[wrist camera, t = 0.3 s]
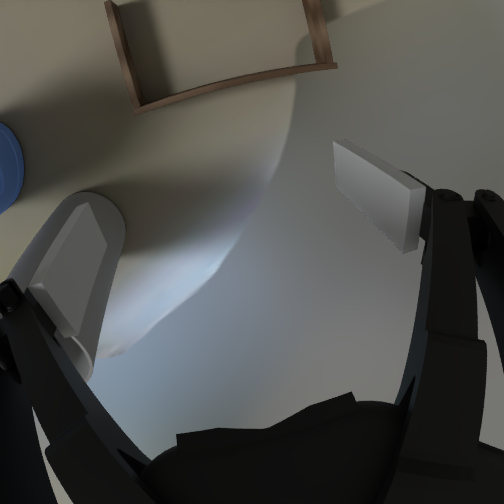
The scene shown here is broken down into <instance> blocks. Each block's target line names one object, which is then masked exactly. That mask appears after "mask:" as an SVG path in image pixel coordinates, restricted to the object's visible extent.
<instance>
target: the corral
mask: <svg viewBox="0 0 504 504" xmlns="http://www.w3.org/2000/svg"><path fill="white" fill-rule="evenodd" d="M302 2H303V6H304V10H305V14H306V18H307V23H308V27H309V31H310V36H311V40H312V45H313V50H314V55H315V59H316V64H308V65H300V66H293V67H286V68H280V69H274V70H269V71H263V72H258V73H253V74H248V75H244V76H239V77H235V78H230V79H226V80H222V81H218V82H214V83H210V84H207V85H203V86H199V87H196V88H193V89H189V90H186V91H182V92H179V93H176V94H173V95H170V96H167V97H164V98H161V99H158V100H155V101H152V102H149V103H147V104H145V102H144V99H143V95H142V92H141V89H140V86H139V82H138V79H137V76H136V72H135V69H134V65H133V62H132V58H131V55H130V51H129V48H128V44H127V41H126V37H125V33H124V30H123V26H122V22H121V18H120V14H119V10H118V6H117V5H116V4H115V3H114V2H112V1H111V0H108V1H105V2H104V4H105V8H106V12H107V16H108V20H109V24H110V28H111V32H112V36H113V39H114V43H115V47H116V50H117V54H118V57H119V61H120V64H121V68H122V71H123V75H124V78H125V81H126V85H127V88H128V91H129V94H130V97H131V101H132V104H133V107H134V110H133V112H134V116H137V115H139V114H142V113H145V112H147V111H150V110H153V109H156V108H159V107H162V106H165V105H167V104H171V103H174V102H177V101H180V100H183V99H186V98H190V97H193V96H196V95H200V94H204V93H207V92H211V91H215V90H218V89H222V88H226V87H230V86H235V85H239V84H243V83H248V82H252V81H257V80H262V79H267V78H273V77H278V76H284V75H290V74H297V73H303V72H311V71H319V70H327V69H336V68H338V67H337V63H333V58H332V52H331V47H330V42H329V38H328V33H327V29H326V24H325V19H324V15H323V11H322V7H321V3H320V0H302Z"/></svg>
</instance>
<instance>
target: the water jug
mask: <svg viewBox="0 0 504 504" xmlns="http://www.w3.org/2000/svg"><path fill="white" fill-rule="evenodd" d="M23 178H24V160H23V155H22V151H21V148H20V145H19V143H18V141H17V139H16V137H15V135H14V134H13V133H12V131H11V130H10V129H9V128H8V127H7V126H5V125H4V124H2V123H0V214H1V213H3V212H4V211H5V210H7V209H8V208H9V207H10V206H11V205H12V204H13V202H14V201H15V200H16V198H17V197H18V195H19V193H20V190H21V187H22V184H23Z"/></svg>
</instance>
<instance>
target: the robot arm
mask: <svg viewBox="0 0 504 504" xmlns="http://www.w3.org/2000/svg"><path fill="white" fill-rule="evenodd" d="M333 148H334V161H335V180H336V188H337V189H338V190H339V191H340V192H341V193H342V194H343V195H344V196H345V197H346V198H347V199H348V200H350V201H351V202H352V203H353V204H354V205H355V206H356V207H357V208H358V209H359V210H360V211H361V212H362V213H363V214H364V215H365V216H366V217H367V218H368V219H369V220H370V221H371V222H372V223H373V224H374V225H376V227H377V228H378V229H379V230H381V232H382V233H383V234H385V236H386V237H387V238H388V239H389V240H390V241H391V242H392V243H393V244H394V245H395V246H396V247H397V248H398V249H399V250H400V251H401V252H402V253H403V254H404V253H407V252H410V251H413V250H416V249H417V248H418V242H419V237H421V238H423V239H424V240H425V246H424V251H423V256H422V261H421V264H422V275H421V282H420V291H419V297H418V304H417V311H416V317H415V323H414V328H413V333H412V338H411V344H410V348H409V353H408V358H407V362H406V366H405V370H404V374H403V378H402V382H401V386H400V389H399V392H398V395H397V398H396V400H395V403H394V404H391V403H386V402H381V401H358V402H356V400H355V398H354V396H353V394H352V392H349V393H346V394H343V395H341V396H338V397H335V398H332V399H329V400H326V401H323V402H320V403H316V404H313V405H310V406H308V407H306V408H305V409H303V410H301V411H299V412H298V413H296V414H294V415H292V416H290V417H288V418H287V419H285V420H283V421H281V422H279V423H277V424H275V425H273V426H271V427H269V428H265V429H233V428H214V429H208V430H203V431H196V432H189V433H181V434H176V438H177V446H174V447H172V448H170V449H168V450H166V451H164V452H163V453H161V454H160V455H158V456H157V457H156V458H155V459H154V460H150V459H149V458H148V457H146V455H144V454H143V453H142V452H141V451H140V450H139V449H138V447H137V446H136V445H135V444H134V443H133V442H132V441H131V440H130V439H129V437H128V436H127V435H126V434H125V433H124V432H123V431H122V429H121V428H120V427H119V426H118V424H117V423H116V422H115V421H114V420H113V418H112V417H111V416H110V415H109V413H108V412H107V411H106V410H105V408H104V407H103V406H102V404H101V403H100V402H99V400H98V399H97V398H96V396H95V395H94V394H93V392H92V391H91V390H90V388H89V387H88V385H87V384H86V382H85V381H84V380H83V378H82V377H81V375H80V374H79V372H78V371H77V369H76V368H75V366H74V365H73V363H72V361H71V360H70V358H69V357H68V355H67V354H66V352H65V350H64V349H63V347H62V345H61V344H60V342H59V341H58V339H57V338H56V337H55V336H54V334H55V331H56V328H57V329H58V330H59V332H60V333H61V334H62V336H63V337H64V338H67V337H72V336H78V335H79V332H80V328H81V325H82V321H83V317H84V314H85V311H86V307H87V304H88V301H89V297H90V294H91V291H92V288H93V285H94V282H95V279H96V276H97V273H98V270H99V267H100V264H101V262H102V259H103V256H104V253H105V251H106V248H107V243H106V241H105V239H104V237H103V234H102V232H101V230H100V228H99V226H98V223H97V221H96V219H95V217H94V214H93V212H92V210H91V207H90V205H89V202H88V203H85V204H82V205H79V206H77V207H76V208H75V210H74V211H73V212H72V214H71V215H70V217H69V218H68V220H67V221H66V223H65V224H64V226H63V227H62V229H61V230H60V232H59V234H58V235H57V237H56V238H55V240H54V241H53V243H52V245H51V246H50V248H49V250H48V251H47V253H46V255H45V256H44V258H43V260H42V261H41V263H40V265H39V266H38V267H37V269H36V271H35V274H34V275H33V276H32V278H31V280H30V282H29V284H28V286H27V288H26V290H25V291H24V293H23V292H22V291H21V289H20V288H19V286H18V285H17V283H16V282H15V280H14V279H13V278H9V279H7V280H5V281H3V282H2V283H0V313H1V314H2V317H3V318H1V319H0V504H58V503H57V500H56V497H55V494H54V492H53V489H52V486H51V483H50V480H49V477H48V473H47V470H46V467H45V463H44V460H43V456H42V452H41V448H40V444H39V440H38V435H37V431H36V426H35V421H34V416H33V411H32V407H33V409H34V411H35V413H36V416H37V418H38V420H39V422H40V424H41V427H42V429H43V431H44V432H45V435H46V436H47V439H48V440H49V443H50V445H49V446H48V447H47V448H46V449H45V455H46V458H47V460H48V462H49V464H50V466H51V467H52V469H53V471H54V473H55V475H56V476H57V478H58V480H59V481H60V483H61V485H62V486H63V488H64V490H65V491H66V493H67V494H68V496H69V497H70V499H71V501H72V502H73V503H74V504H504V451H503V450H501V449H498V448H495V447H493V446H490V445H488V444H485V443H482V442H480V441H479V436H480V429H481V424H482V416H483V408H484V399H485V388H486V371H487V346H486V343H485V341H484V340H479V339H478V315H477V293H476V280H475V277H476V279H477V282H478V285H479V287H480V290H481V293H482V295H483V298H484V302H485V305H486V308H487V311H488V314H489V317H490V320H491V324H492V327H493V331H494V334H495V338H496V342H497V345H498V350H499V353H500V358H501V363H502V367H503V372H504V201H503V199H502V198H501V197H500V196H499V195H497V194H496V193H494V192H493V191H490V190H484V189H479V190H477V191H476V192H475V197H474V201H464V200H463V198H462V196H461V195H460V194H458V193H456V192H454V191H452V190H448V189H436V190H434V189H432V188H431V187H429V186H428V185H426V184H425V183H423V182H421V181H420V180H419V179H417V178H414V176H412V175H411V174H409V173H407V172H405V171H402V170H399V169H397V168H396V167H394V166H392V165H391V164H389V163H387V162H386V161H384V160H382V159H381V158H379V157H377V156H375V155H374V154H372V153H370V152H368V151H367V150H365V149H363V148H361V147H359V146H357V145H356V144H354V143H352V142H350V141H348V140H346V139H344V140H337V141H333Z"/></svg>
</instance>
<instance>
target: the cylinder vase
mask: <svg viewBox="0 0 504 504" xmlns="http://www.w3.org/2000/svg"><path fill="white" fill-rule="evenodd" d="M88 202H89V205H90V207H91V210H92V212H93V214H94V217H95V219H96V221H97V223H98V226H99V228H100V230H101V232H102V234H103V237H104V239H105V241H106V243H107V248H106V251H105V253H104V256H103V259H102V262H101V264H100V267H99V270H98V273H97V276H96V279H95V282H94V285H93V288H92V291H91V294H90V297H89V301H88V304H87V307H86V311H85V314H84V317H83V321H82V325H81V328H80V332H79V335H78V336H72V337H67V338H64V337H63V336H62V334H61V333H60V332H59V330H58V329H57V328H56V331H55V334H54V336H55V337H56V338H57V339H58V341H59V342H60V344H61V345H62V347H63V349H64V350H65V352H66V354H67V355H68V357H69V358H70V360H71V361H72V363H73V365H74V366H75V368H76V369H77V371H78V372H79V374H80V375H81V377H82V378H83V380H84V381H85V382H88V381H89V379H90V378H91V376H92V373H93V367H94V361H95V356H96V351H97V346H98V341H99V336H100V332H101V327H102V322H103V318H104V314H105V310H106V306H107V301H108V297H109V294H110V290H111V286H112V282H113V279H114V275H115V271H116V268H117V264H118V261H119V258H120V254H121V251H122V248H123V245H124V241H125V236H126V228H125V223H124V220H123V217H122V215H121V213H120V211H119V210H118V209H117V207H116V206H115V205H114V204H113V203H112V202H111V201H110V200H108V199H107V198H105V197H103V196H101V195H99V194H96V193H92V192H79V193H75V194H73V195H70V196H69V197H67V198H66V199H64V200H63V201H62V202H61V203H60V205H59V206H58V207H57V208H56V210H55V211H54V212H53V213H52V215H51V216H50V217H49V218H48V220H47V221H46V222H45V224H44V225H43V226H42V228H41V229H40V230H39V232H38V233H37V234H36V236H35V237H34V238H33V240H32V241H31V243H30V244H29V245H28V247H27V248H26V250H25V251H24V253H23V254H22V256H21V257H20V259H19V260H18V262H17V263H16V265H15V266H14V268H13V269H12V271H11V272H10V274H9V276H8V277H7V279H9V278H13V279H14V280H15V282H16V283H17V285H18V286H19V288H20V289H21V291H22V292H23V293H24V291H25V290H26V288H27V286H28V284H29V282H30V280H31V278H32V276H33V275H34V274H35V271H36V269H37V267H38V266H39V265H40V263H41V261H42V260H43V258H44V256H45V255H46V253H47V251H48V250H49V248H50V246H51V245H52V243H53V241H54V240H55V238H56V237H57V235H58V234H59V232H60V230H61V229H62V227H63V226H64V224H65V223H66V221H67V220H68V218H69V217H70V215H71V214H72V212H73V211H74V210H75V208H76V207H77V206H79V205H82V204H85V203H88ZM7 279H6V280H7ZM1 318H3V317H2V314H1V313H0V319H1Z"/></svg>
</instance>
